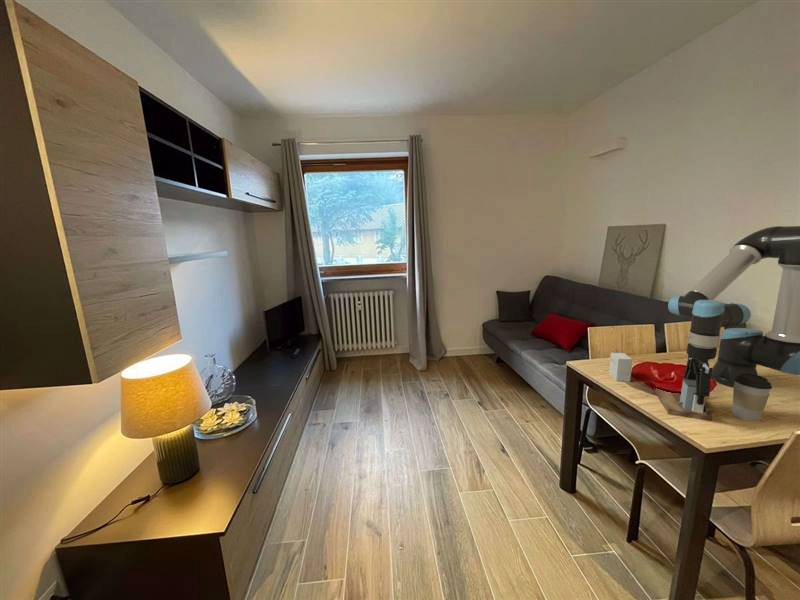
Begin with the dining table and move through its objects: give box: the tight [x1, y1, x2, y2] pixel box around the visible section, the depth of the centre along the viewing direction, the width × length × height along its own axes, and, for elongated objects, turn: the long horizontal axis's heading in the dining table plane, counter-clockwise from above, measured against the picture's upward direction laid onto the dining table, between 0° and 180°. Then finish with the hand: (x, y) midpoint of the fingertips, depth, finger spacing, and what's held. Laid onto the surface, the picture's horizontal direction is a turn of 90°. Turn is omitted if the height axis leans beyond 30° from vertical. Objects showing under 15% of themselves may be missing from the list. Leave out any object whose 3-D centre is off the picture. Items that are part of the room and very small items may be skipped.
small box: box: [608, 352, 633, 382], centre depth 147 cm, size 8×6×10 cm
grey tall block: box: [678, 378, 696, 411], centre depth 118 cm, size 6×5×10 cm
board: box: [654, 388, 714, 422], centre depth 124 cm, size 12×19×4 cm, turn 155°
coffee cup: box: [732, 373, 773, 422], centre depth 115 cm, size 9×9×15 cm
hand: (692, 405), depth 118 cm, fingers open, 8 cm apart
